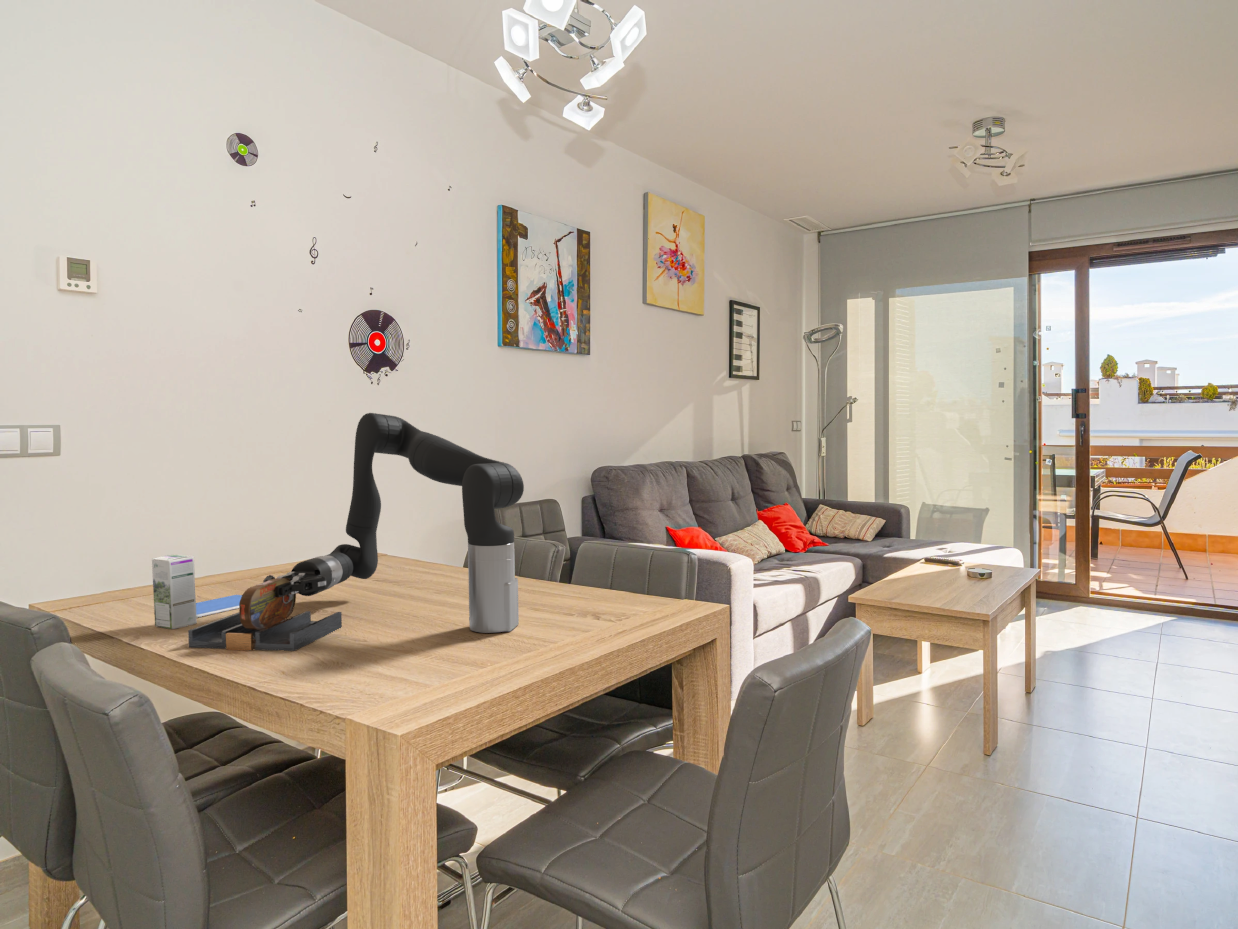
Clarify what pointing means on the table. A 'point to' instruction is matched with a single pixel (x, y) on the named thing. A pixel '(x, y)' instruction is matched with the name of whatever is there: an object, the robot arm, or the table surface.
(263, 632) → the rack
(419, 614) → the table surface
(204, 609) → the tablet computer
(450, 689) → the table surface
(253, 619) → the tin
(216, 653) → the table surface
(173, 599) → the syrup box
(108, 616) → the table surface
